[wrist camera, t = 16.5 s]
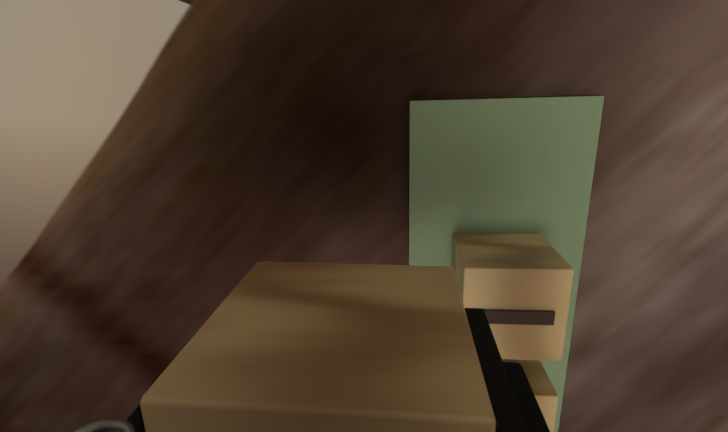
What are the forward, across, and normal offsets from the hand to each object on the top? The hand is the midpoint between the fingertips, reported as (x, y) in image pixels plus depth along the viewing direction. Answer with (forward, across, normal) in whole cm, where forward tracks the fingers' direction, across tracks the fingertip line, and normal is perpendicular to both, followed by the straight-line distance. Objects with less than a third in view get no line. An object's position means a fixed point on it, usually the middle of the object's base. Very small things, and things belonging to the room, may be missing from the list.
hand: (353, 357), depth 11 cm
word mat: (+14, -7, +5) cm, 17 cm away
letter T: (0, 0, 0) cm, 0 cm away
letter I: (+14, -7, +4) cm, 16 cm away
